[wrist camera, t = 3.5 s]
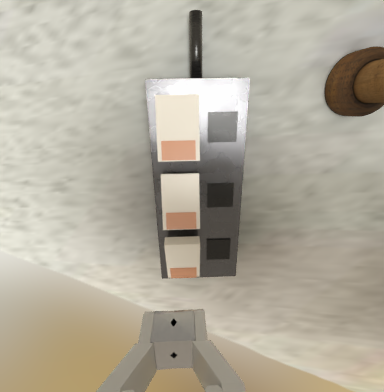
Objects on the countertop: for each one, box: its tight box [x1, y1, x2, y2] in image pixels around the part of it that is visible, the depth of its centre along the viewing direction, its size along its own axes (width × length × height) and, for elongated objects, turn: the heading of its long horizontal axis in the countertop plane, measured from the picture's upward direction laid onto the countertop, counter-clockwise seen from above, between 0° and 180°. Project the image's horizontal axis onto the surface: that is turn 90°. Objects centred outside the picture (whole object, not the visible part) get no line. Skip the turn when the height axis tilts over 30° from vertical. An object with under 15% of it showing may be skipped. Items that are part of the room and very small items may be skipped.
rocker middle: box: [161, 173, 200, 230], centre depth 24 cm, size 4×6×1 cm, turn 1°
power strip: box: [145, 10, 250, 278], centre depth 26 cm, size 10×30×5 cm, turn 1°
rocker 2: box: [164, 236, 200, 278], centre depth 27 cm, size 4×6×1 cm, turn 1°
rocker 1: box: [155, 94, 200, 162], centre depth 21 cm, size 4×6×1 cm, turn 1°
